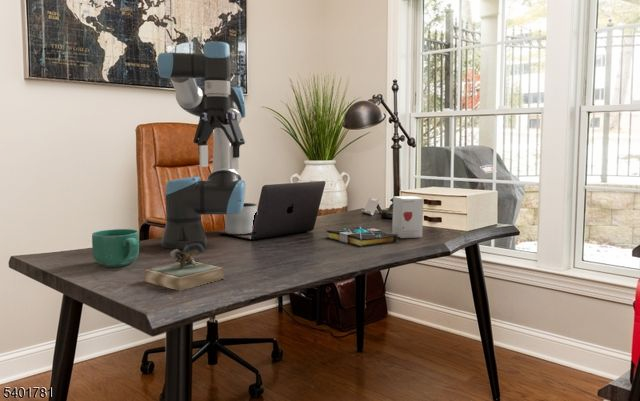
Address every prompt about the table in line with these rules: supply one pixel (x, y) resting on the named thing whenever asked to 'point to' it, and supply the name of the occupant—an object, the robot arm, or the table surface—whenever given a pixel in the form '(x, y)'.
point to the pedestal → (183, 275)
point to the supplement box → (407, 216)
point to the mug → (115, 247)
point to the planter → (241, 220)
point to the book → (362, 236)
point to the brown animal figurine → (189, 253)
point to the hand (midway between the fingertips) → (218, 168)
